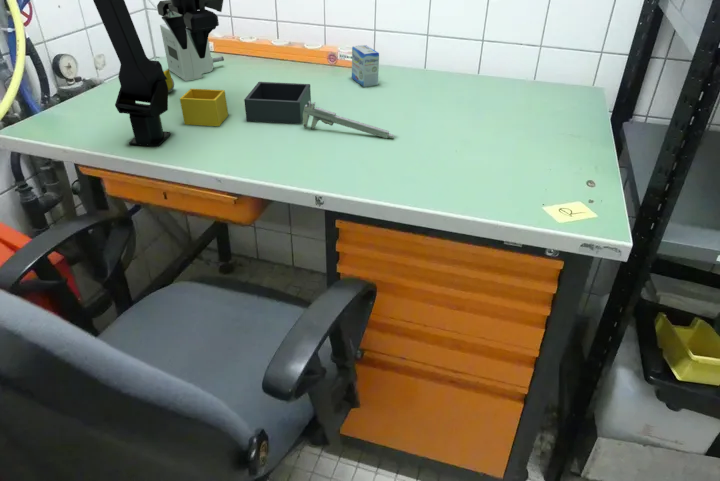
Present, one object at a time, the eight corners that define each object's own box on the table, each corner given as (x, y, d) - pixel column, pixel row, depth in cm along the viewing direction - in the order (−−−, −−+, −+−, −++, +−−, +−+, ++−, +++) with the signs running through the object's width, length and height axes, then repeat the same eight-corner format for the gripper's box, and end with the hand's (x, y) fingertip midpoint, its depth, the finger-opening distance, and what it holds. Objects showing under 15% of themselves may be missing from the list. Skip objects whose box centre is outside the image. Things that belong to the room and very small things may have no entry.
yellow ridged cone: (174, 88, 139) (183, 68, 131) (164, 102, 137) (173, 83, 129) (155, 76, 137) (163, 55, 129) (145, 90, 135) (153, 70, 127)
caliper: (303, 128, 117) (301, 101, 114) (305, 126, 118) (303, 99, 115) (393, 139, 113) (394, 111, 109) (394, 137, 114) (395, 109, 110)
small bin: (219, 126, 118) (215, 100, 114) (184, 124, 119) (179, 98, 115) (228, 115, 123) (224, 90, 120) (195, 113, 124) (190, 88, 120)
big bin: (301, 124, 119) (299, 102, 116) (246, 121, 120) (244, 99, 118) (311, 104, 129) (310, 84, 126) (260, 102, 130) (258, 81, 127)
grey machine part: (168, 69, 150) (157, 13, 142) (214, 61, 157) (207, 7, 149) (185, 81, 142) (174, 22, 134) (233, 71, 149) (226, 15, 141)
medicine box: (351, 78, 145) (351, 46, 140) (365, 76, 147) (366, 44, 142) (363, 87, 139) (364, 54, 134) (378, 85, 141) (379, 52, 136)
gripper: (236, -20, 110) (244, 56, 119) (197, -31, 122) (207, 39, 131) (185, -14, 105) (198, 65, 114) (149, -26, 116) (164, 47, 125)
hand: (193, 53), depth 121 cm, fingers open, 9 cm apart
